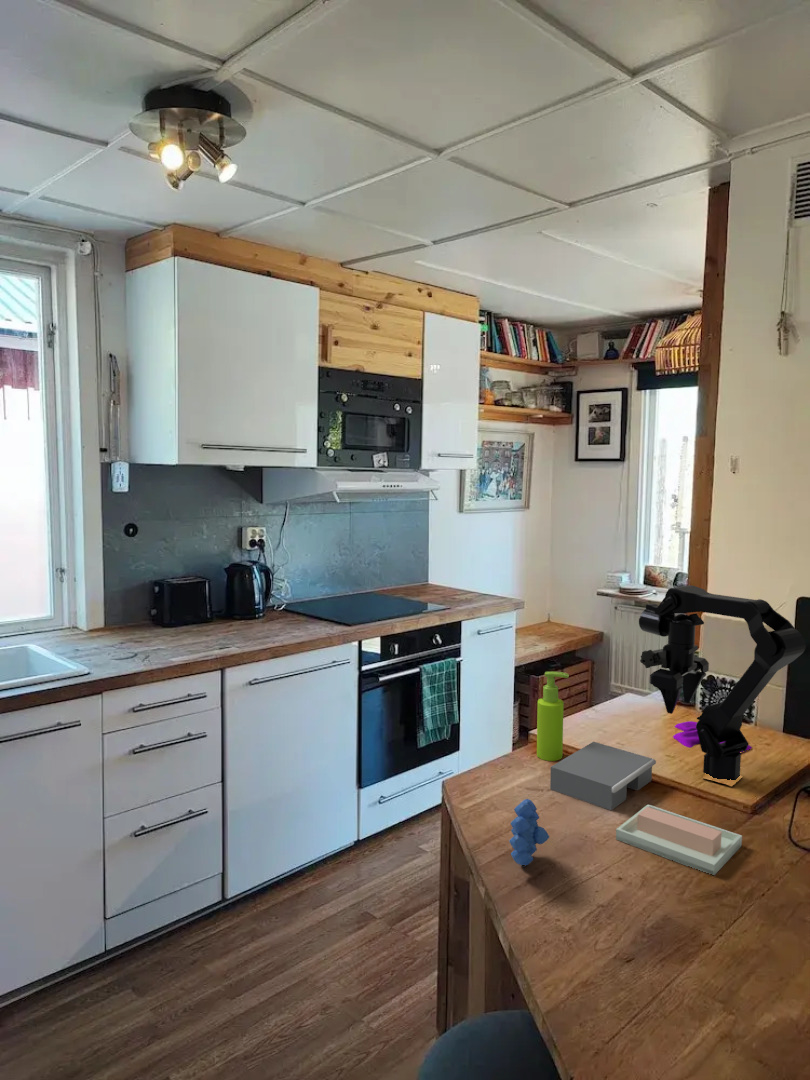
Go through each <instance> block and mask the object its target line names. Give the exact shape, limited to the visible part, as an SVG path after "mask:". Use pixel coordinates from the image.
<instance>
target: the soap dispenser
mask: <svg viewBox="0 0 810 1080" xmlns="http://www.w3.org/2000/svg"><path fill="white" fill-rule="evenodd" d="M569 676H570V675H569V673H567V672H562V671H545V672H544V677H546V684H545V685H543V687H542V689H543V690H542V693H543V694H542V697H541V698H538V700H537V709H536V711H537V713H536V715H537V717H536V723H537V724H536V729H537V730H536V757H537V758H538V759H540V760H541V761H548V762H549V761H550V762H555V761H561V760H562V758H563V754H564V753H563V747H564V746H563V743H564V703H565V701H564V700H562V699H560V698H559V686H558V685H556V683H555V680H556V677H557V678H565V679H568V678H569Z"/></svg>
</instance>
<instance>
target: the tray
mask: <svg viewBox="0 0 810 1080" xmlns="http://www.w3.org/2000/svg"><path fill="white" fill-rule="evenodd" d="M647 807H649V808H652V809H655V810H658V811H661V812H664V813H667V814H670V815H673V816H676V817H679V818H682V819H685V820H688V821H691V822H694V823H697V824H700V825H703V826H706V827H709V828H712V829H715V830H718V831H721V832H722V836H721V848H720V849H719V850H718V851H717V852H716V853H715V854H714V855H713V856H710V855H707V854H704V853H701V852H699V851H696V850H693V849H690V848H687V847H685V846H682V845H679V844H676V843H673V842H671V841H668V840H665V839H662V838H659V837H657V836H654V835H651V834H648V833H645V832H643V831H640V830H637V822H638V814H639V813H640V812H641V811H643V810H644V809H645V808H647ZM615 840H616V841H618V842H622V843H625V844H628V845H630V846H632V847H635V848H638V849H641V850H644V851H646V852H649V853H650V854H654V855H656V856H659V857H662V858H664V859H667V860H670V861H672V860H673V862H676V863H678V864H681V865H683V866H686V867H688V866H690V867H689V868H691V867H692V869H694V868H695V870H696V869H698V870H697V871H699V870H700V871H699V872H702V871H703V872H702V873H704V872H706V873H705V874H707V873H709V874H708V875H710V874H712V875H714V876H716V874H718V872H719V871H720V870H721V869H722V868H723V867H724V866H725V864H727V862H728V861H729V860H730V859H731V858H732V857H733V856H734V855H735V854H736V853H737V852H738V850H739V849H741V847H742V841H743V835H741V834H739V833H736V832H732V831H729V830H726V829H723V828H720V827H718V826H714V825H712V824H709V823H705V822H702V821H700V820H696V819H694V818H690V817H687V816H684V815H682V814H681V815H680V814H678V813H675V812H672V811H669V810H665V809H664V808H660V807H658V806H654V805H651V804H647V805H645V806H644V807H643V808H641V809H640V810H638V812H636V813H635V814H634V815H632V816H631V817H630V818H628V819H627V820H626V821H625V822H624V823H622V824H621V825H620V826H618V827H616V829H615ZM712 875H711V876H712Z"/></svg>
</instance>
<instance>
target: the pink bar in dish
mask: <svg viewBox="0 0 810 1080" xmlns="http://www.w3.org/2000/svg"><path fill="white" fill-rule="evenodd" d="M637 830H640V831H643V832H645V833H648V834H651V835H654V836H657V837H659V838H662V839H665V840H668V841H671V842H673V843H676V844H679V845H682V846H685V847H687V848H690V849H693V850H696V851H699V852H701V853H704V854H707V855H710V856H713V855H714V854H715V853H716V852H717V851H718V850H719V849H720V848H721V836H722V832H721V831H718V830H715V829H712V828H709V827H706V826H703V825H700V824H697V823H694V822H691V821H688V820H685V819H682V818H679V817H676V816H673V815H670V814H667V813H664V812H661V811H658V810H655V809H652V808H649V807H647V808H645V809H644V810H643V811H641V812H640V813H639V814H638V822H637Z"/></svg>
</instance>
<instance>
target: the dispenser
mask: <svg viewBox="0 0 810 1080" xmlns="http://www.w3.org/2000/svg"><path fill="white" fill-rule="evenodd" d="M656 764H657V760H656V759H655V758H652V757H649V756H644V755H641V754H638V753H634V752H631V751H628V750H624V749H620V748H618V747H614V746H610V745H607V744H604V743H600V742H596V741H592V742H590V743H589V744H587V745H585V746H583V747H582V748H580V749H579V750H577V751H575V752H574V753H572V754H570V755H569V756H566V757H565V758H563V759H560V760H559V761H558V762H556V763H555V764H553V765H551V766H550V785H549V788H550V789H549V790H551V791H554V792H557V793H560V794H563V795H566V796H568V797H570V798H575V799H577V800H580V801H583V802H586V803H589V804H592V805H594V806H597V807H599V808H602V809H605V810H609V811H612V810H614V809H615V808H617V807H618V806H619V805H621V804H622V803H623V802H625V801H627V790H628V789H632V790H635V791H637V792H638V791H639V790H641V789H642V788H644V787H645V786H646V785H647V784H648V783H649V784H650V783H651V782H652V773H653V772H652V771H653V766H655V765H656ZM627 788H628V789H627Z"/></svg>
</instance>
